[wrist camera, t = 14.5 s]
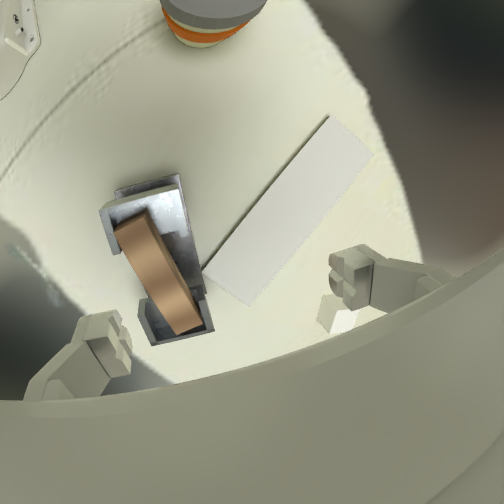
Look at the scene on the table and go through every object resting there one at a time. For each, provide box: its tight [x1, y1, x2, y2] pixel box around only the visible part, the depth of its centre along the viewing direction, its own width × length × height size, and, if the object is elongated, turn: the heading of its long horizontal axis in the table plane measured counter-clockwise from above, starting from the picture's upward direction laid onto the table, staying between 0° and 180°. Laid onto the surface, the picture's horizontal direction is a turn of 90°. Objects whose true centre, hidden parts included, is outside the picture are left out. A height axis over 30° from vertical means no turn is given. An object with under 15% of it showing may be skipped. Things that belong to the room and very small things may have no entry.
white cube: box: [317, 294, 360, 334], centre depth 56 cm, size 6×6×6 cm
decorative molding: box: [201, 115, 374, 307], centre depth 46 cm, size 34×5×10 cm
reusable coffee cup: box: [160, 0, 267, 48], centre depth 24 cm, size 13×13×15 cm
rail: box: [113, 208, 203, 335], centre depth 33 cm, size 16×4×4 cm, turn 20°
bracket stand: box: [99, 173, 215, 346], centre depth 38 cm, size 21×10×12 cm, turn 9°
